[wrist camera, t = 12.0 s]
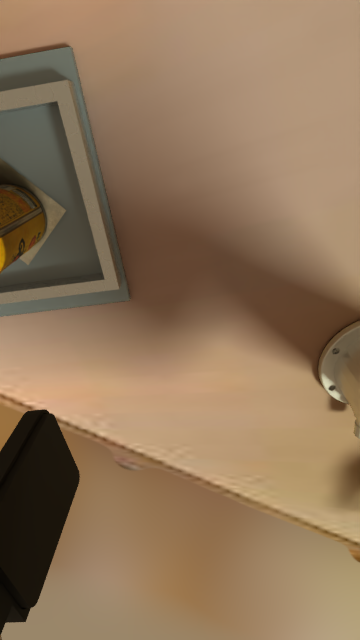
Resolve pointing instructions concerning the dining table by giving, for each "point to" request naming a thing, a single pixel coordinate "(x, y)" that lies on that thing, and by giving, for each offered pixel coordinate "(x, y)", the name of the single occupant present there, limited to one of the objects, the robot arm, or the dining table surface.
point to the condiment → (23, 217)
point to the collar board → (57, 188)
